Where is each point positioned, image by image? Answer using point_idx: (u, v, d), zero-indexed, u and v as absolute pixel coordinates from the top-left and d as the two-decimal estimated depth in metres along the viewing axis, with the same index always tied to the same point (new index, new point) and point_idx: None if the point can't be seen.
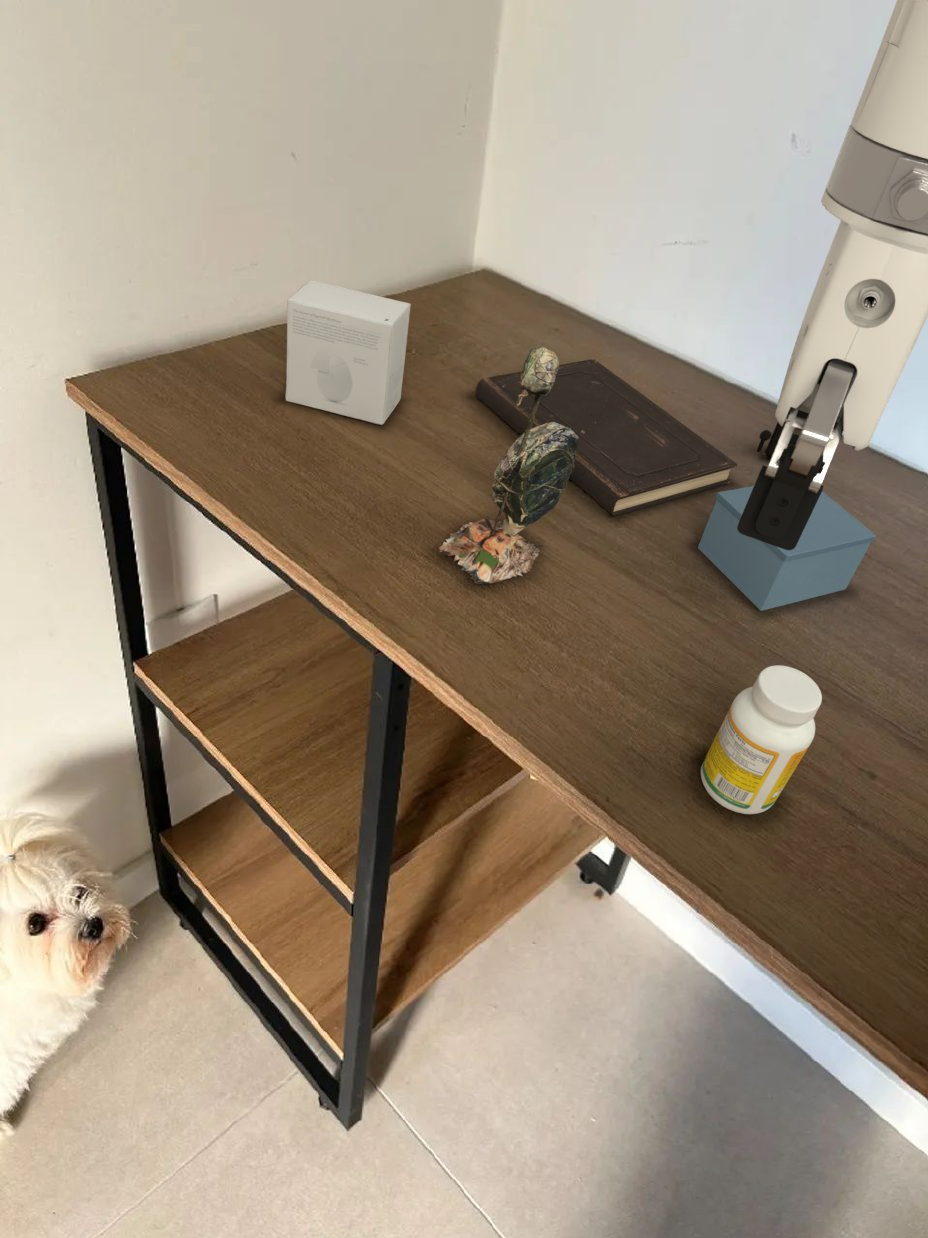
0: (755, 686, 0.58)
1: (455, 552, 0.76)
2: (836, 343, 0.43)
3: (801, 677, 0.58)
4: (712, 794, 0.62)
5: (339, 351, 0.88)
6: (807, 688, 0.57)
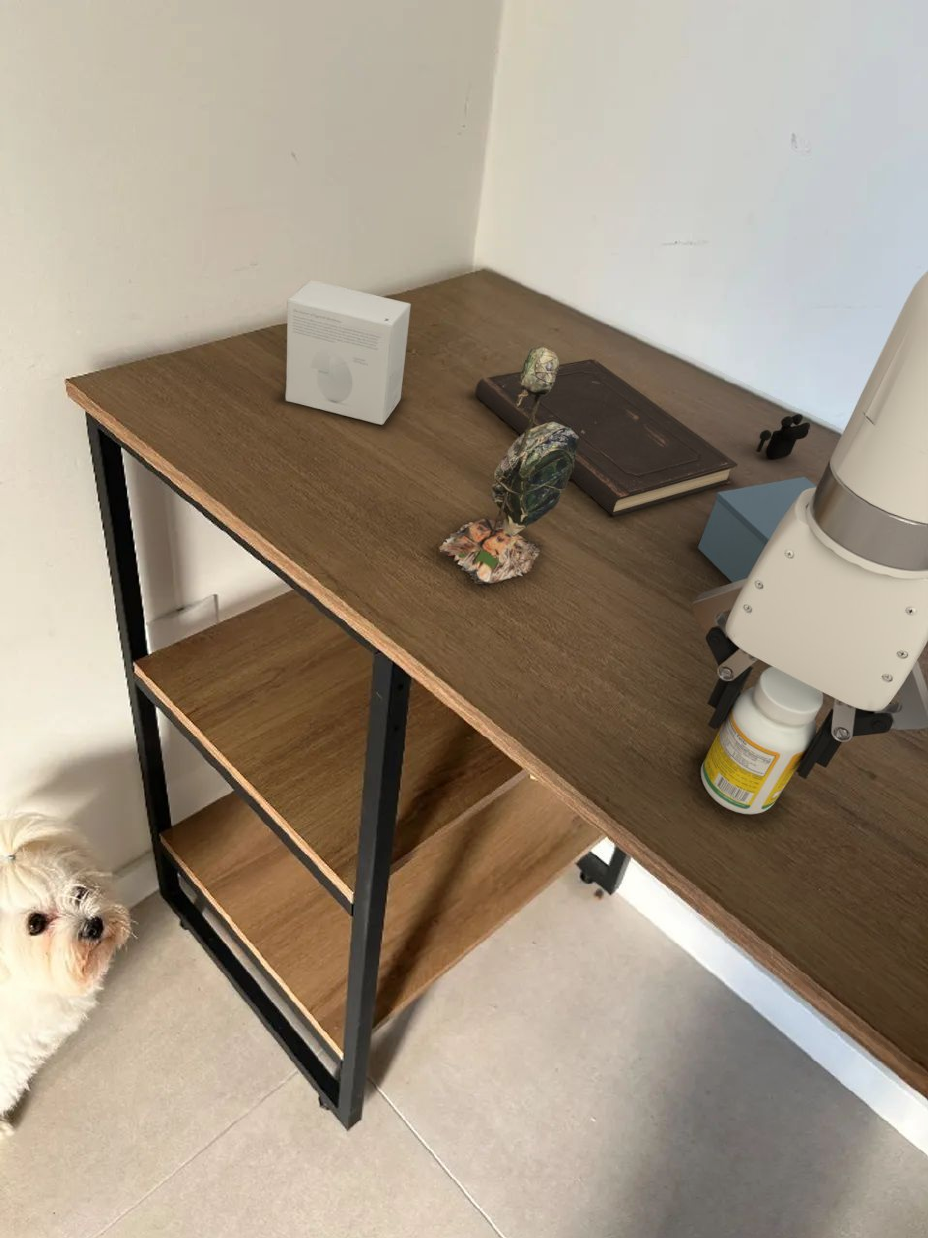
0: (756, 686, 0.58)
1: (455, 552, 0.76)
2: None
3: None
4: (712, 794, 0.62)
5: (339, 351, 0.88)
6: (808, 689, 0.57)
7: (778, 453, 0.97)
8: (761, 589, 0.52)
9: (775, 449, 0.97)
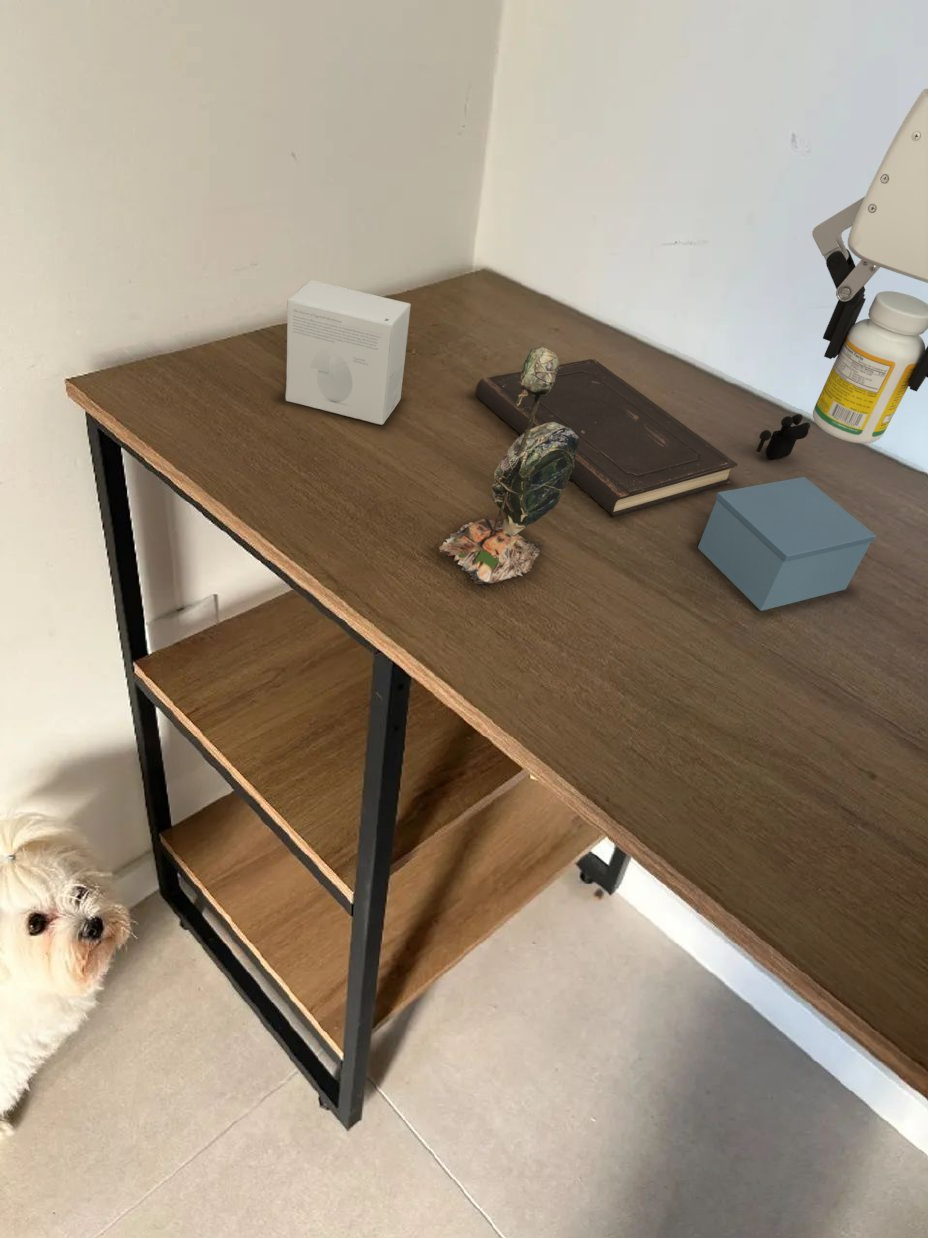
0: (873, 304, 0.64)
1: (455, 552, 0.76)
2: None
3: (914, 299, 0.64)
4: (826, 426, 0.68)
5: (339, 351, 0.88)
6: (920, 305, 0.63)
7: (778, 453, 0.97)
8: (887, 182, 0.58)
9: (775, 449, 0.97)
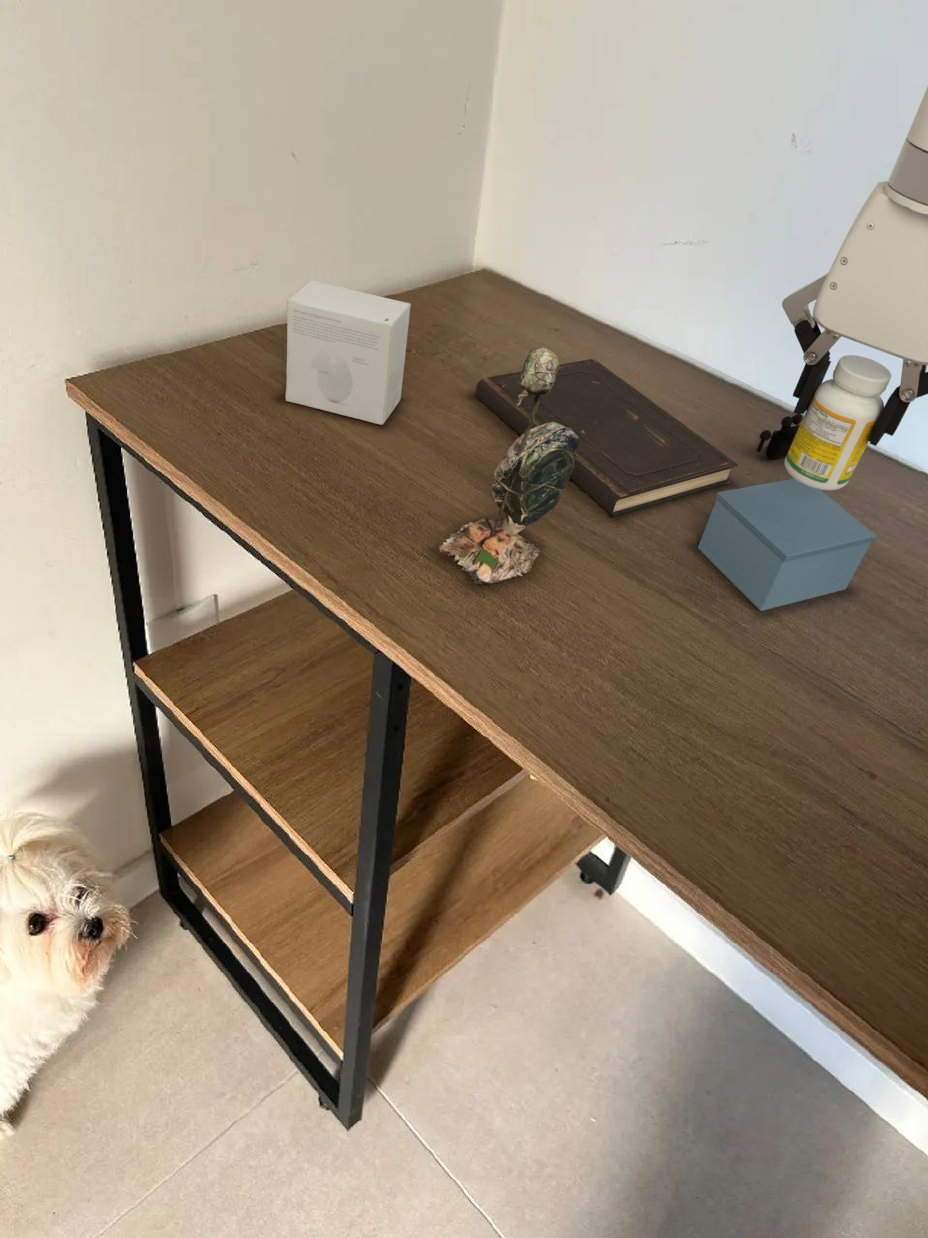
0: (836, 368, 0.71)
1: (455, 552, 0.76)
2: None
3: (873, 362, 0.71)
4: (796, 474, 0.75)
5: (339, 351, 0.88)
6: (879, 368, 0.71)
7: (778, 453, 0.97)
8: (845, 264, 0.66)
9: (775, 449, 0.97)
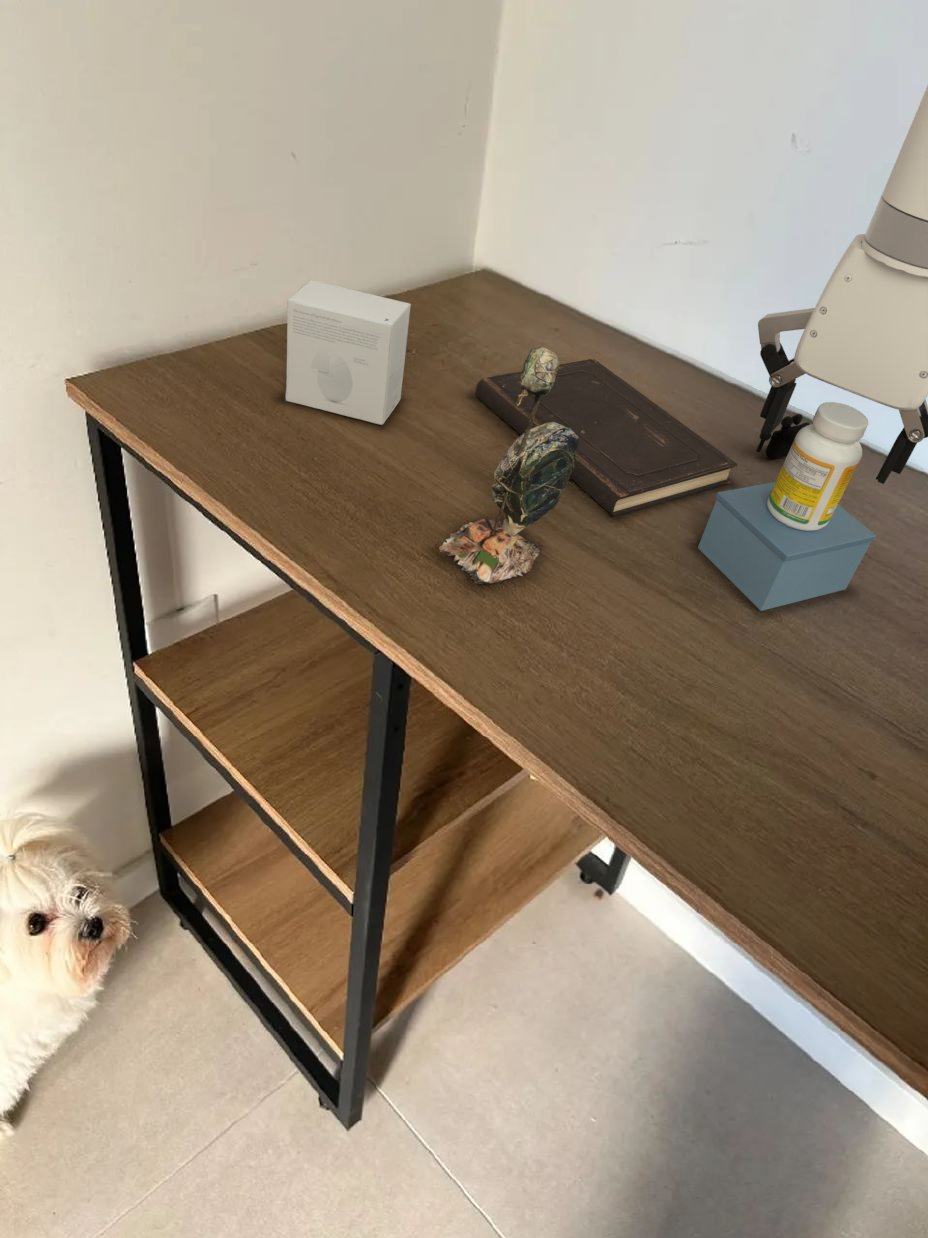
0: (815, 415, 0.73)
1: (455, 552, 0.76)
2: None
3: (851, 409, 0.74)
4: (778, 515, 0.78)
5: (339, 351, 0.88)
6: (856, 415, 0.73)
7: (778, 453, 0.97)
8: (825, 314, 0.68)
9: (775, 449, 0.97)
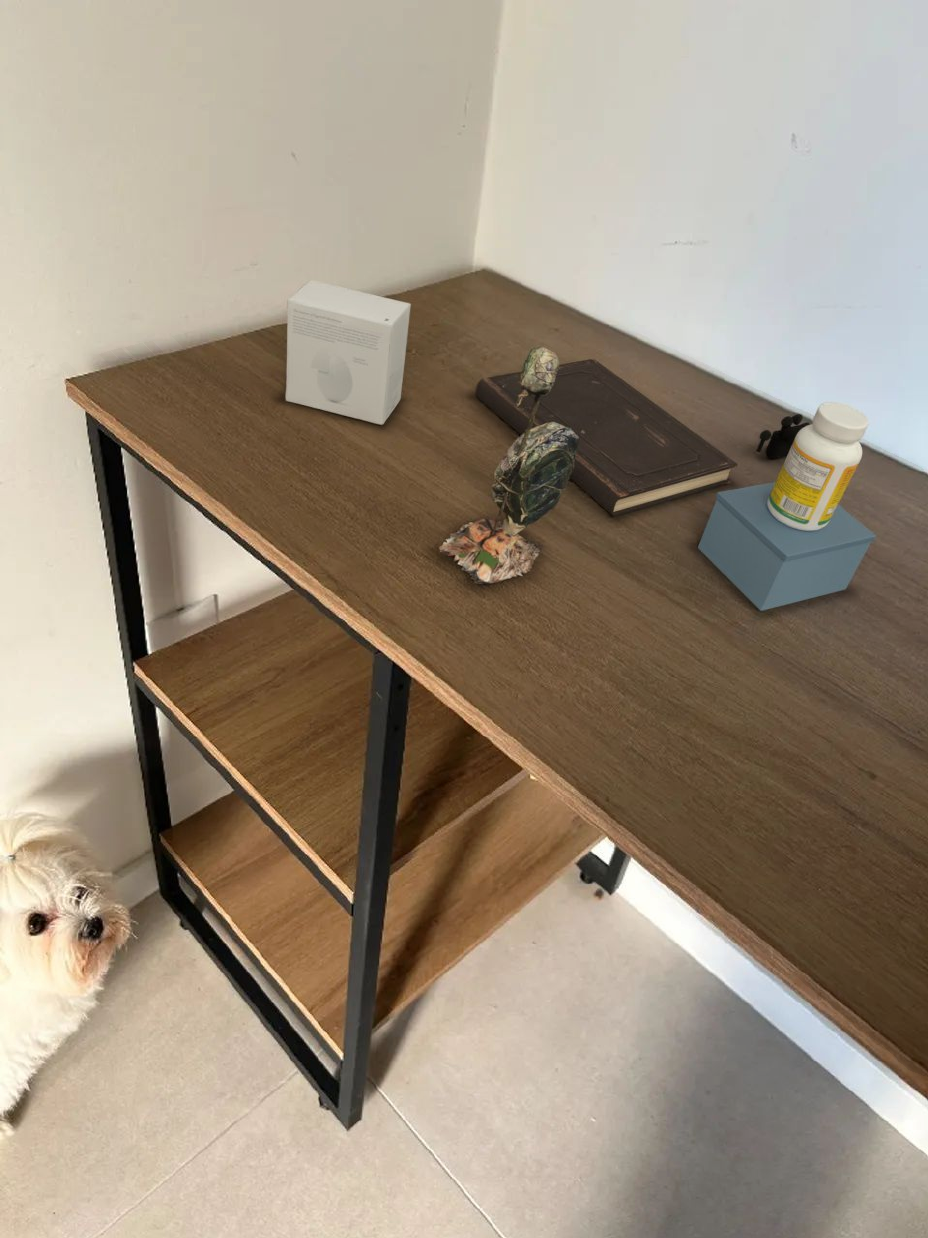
0: (815, 415, 0.73)
1: (455, 552, 0.76)
2: None
3: (852, 409, 0.74)
4: (778, 515, 0.78)
5: (339, 351, 0.88)
6: (857, 415, 0.73)
7: (778, 453, 0.97)
8: None
9: (775, 449, 0.97)
